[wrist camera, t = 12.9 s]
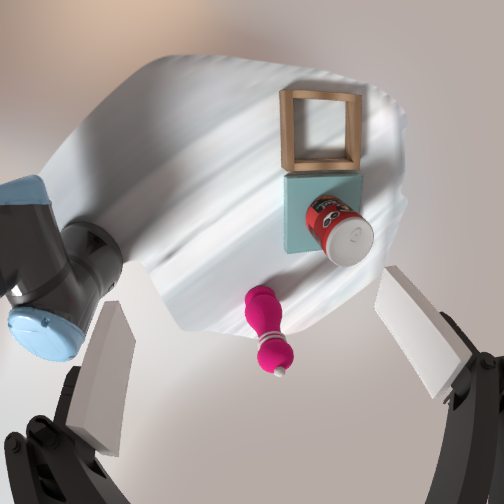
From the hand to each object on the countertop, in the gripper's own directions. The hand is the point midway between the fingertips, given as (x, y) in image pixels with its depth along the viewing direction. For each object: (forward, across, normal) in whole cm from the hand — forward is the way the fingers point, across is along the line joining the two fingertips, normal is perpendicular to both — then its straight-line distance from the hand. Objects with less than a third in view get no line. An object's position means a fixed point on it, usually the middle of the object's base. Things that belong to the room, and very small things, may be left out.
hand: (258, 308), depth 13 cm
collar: (+35, -16, -5) cm, 39 cm away
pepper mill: (+35, -5, +28) cm, 45 cm away
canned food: (+33, -17, +10) cm, 38 cm away
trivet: (+35, -17, +10) cm, 40 cm away
